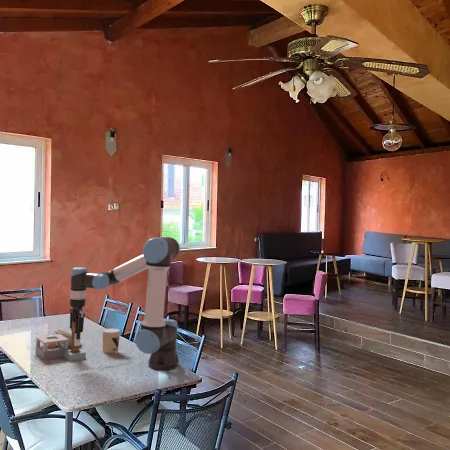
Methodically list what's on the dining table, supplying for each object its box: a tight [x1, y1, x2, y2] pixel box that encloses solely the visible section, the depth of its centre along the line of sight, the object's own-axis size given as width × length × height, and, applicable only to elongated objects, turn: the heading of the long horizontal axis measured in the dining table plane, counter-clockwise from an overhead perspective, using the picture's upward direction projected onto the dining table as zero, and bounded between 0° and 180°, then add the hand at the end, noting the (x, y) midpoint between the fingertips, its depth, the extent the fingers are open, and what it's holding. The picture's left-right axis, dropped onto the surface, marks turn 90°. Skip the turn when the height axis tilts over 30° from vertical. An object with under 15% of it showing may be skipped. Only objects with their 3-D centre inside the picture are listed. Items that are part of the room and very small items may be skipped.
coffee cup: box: [102, 327, 121, 355], centre depth 232 cm, size 9×9×12 cm
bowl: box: [53, 329, 81, 347], centre depth 238 cm, size 15×14×10 cm
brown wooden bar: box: [70, 321, 81, 353], centre depth 218 cm, size 3×3×18 cm
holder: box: [63, 348, 87, 362], centre depth 218 cm, size 8×8×4 cm
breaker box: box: [35, 333, 69, 361], centre depth 220 cm, size 12×12×10 cm
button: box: [48, 343, 56, 349], centre depth 220 cm, size 4×4×5 cm
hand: (75, 344), depth 218 cm, fingers closed on brown wooden bar, 3 cm apart
